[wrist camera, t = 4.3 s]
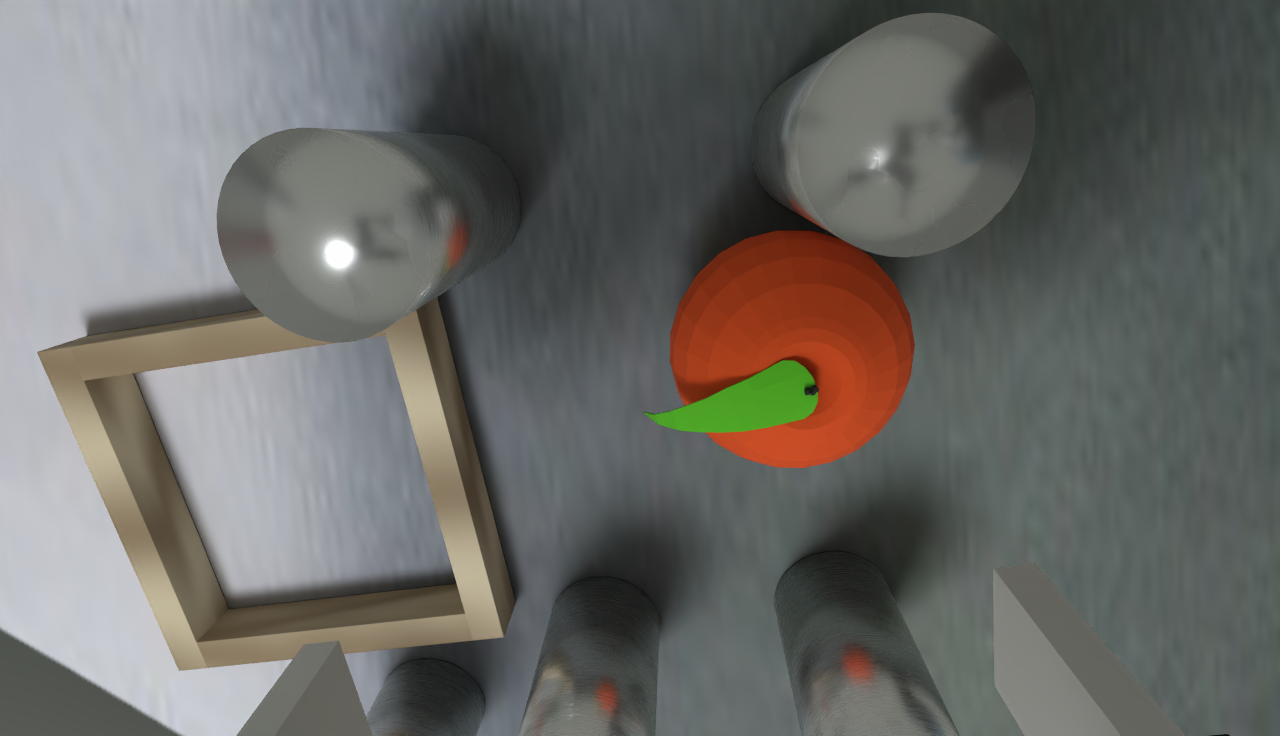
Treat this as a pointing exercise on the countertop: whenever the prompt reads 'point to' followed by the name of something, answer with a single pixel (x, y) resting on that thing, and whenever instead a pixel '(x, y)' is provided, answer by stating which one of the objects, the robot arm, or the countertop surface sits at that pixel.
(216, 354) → the beech corral
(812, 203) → the spacer field
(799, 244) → the clementine
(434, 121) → the countertop surface
